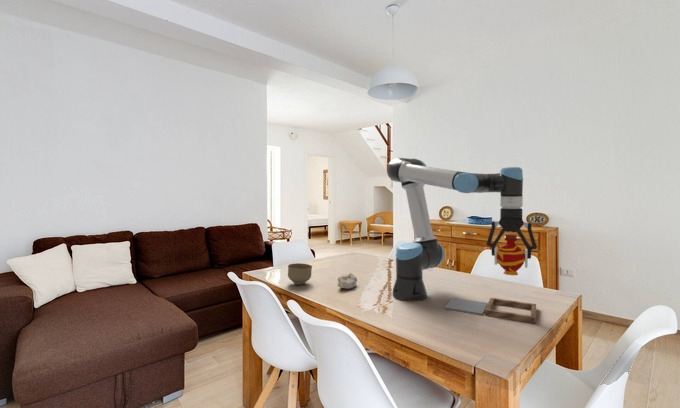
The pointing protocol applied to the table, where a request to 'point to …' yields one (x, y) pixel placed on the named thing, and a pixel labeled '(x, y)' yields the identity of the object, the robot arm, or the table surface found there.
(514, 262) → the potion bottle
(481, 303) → the coaster
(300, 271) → the bowl
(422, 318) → the table surface
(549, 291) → the table surface
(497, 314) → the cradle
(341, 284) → the stone
